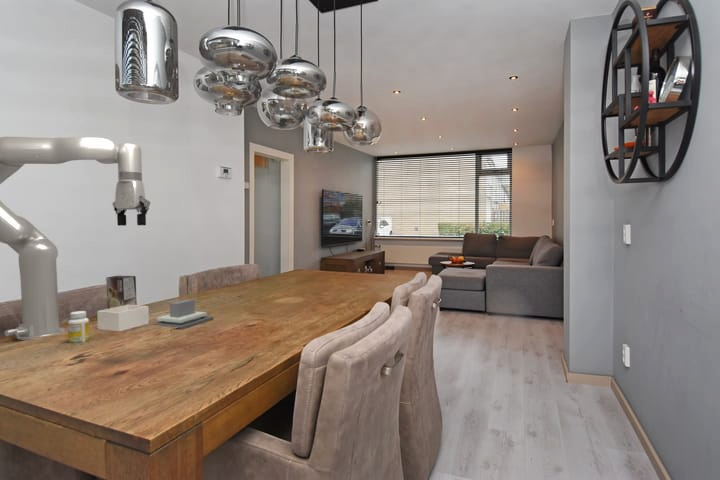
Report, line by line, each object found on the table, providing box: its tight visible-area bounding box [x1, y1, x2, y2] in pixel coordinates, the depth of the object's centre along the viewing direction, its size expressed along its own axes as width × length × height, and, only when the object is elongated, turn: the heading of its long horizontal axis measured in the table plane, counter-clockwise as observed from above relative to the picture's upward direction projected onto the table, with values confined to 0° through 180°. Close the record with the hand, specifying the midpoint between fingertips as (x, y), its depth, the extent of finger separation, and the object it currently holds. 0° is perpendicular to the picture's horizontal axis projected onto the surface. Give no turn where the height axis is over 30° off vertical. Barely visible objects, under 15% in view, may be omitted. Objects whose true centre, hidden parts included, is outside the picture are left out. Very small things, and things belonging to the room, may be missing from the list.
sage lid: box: [156, 298, 208, 324], centre depth 151 cm, size 13×11×7 cm
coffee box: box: [105, 275, 138, 309], centre depth 164 cm, size 9×6×16 cm
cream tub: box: [96, 304, 150, 332], centre depth 144 cm, size 12×10×7 cm
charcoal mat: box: [150, 315, 214, 331], centre depth 152 cm, size 16×14×1 cm
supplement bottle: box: [67, 310, 90, 344], centre depth 126 cm, size 5×5×10 cm
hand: (131, 225), depth 149 cm, fingers open, 9 cm apart
